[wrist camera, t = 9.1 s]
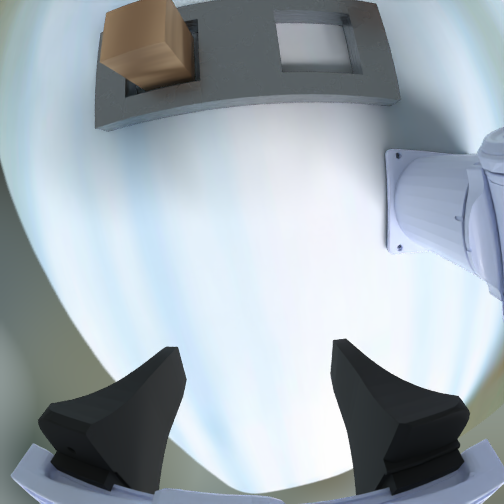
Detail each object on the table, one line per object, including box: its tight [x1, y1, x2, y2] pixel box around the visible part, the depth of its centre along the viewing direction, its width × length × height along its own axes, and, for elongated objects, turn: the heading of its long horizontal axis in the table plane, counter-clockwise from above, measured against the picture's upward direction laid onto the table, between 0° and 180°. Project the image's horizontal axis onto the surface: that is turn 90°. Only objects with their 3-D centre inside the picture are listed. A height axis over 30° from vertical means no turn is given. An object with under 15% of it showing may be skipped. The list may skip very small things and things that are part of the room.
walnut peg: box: [100, 0, 195, 91], centre depth 14 cm, size 4×4×7 cm
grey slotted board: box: [95, 0, 401, 131], centre depth 16 cm, size 22×9×2 cm, turn 95°
